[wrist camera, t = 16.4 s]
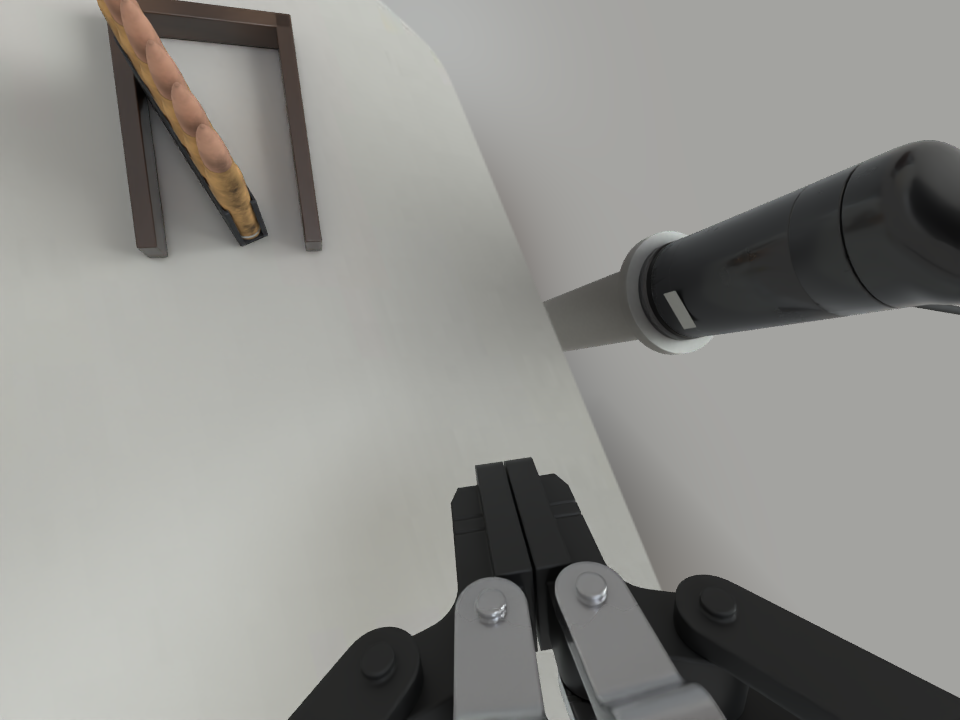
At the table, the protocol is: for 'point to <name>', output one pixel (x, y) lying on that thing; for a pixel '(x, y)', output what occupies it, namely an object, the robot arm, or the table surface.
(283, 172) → the table surface
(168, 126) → the ammunition clip
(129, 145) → the frame
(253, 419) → the table surface
